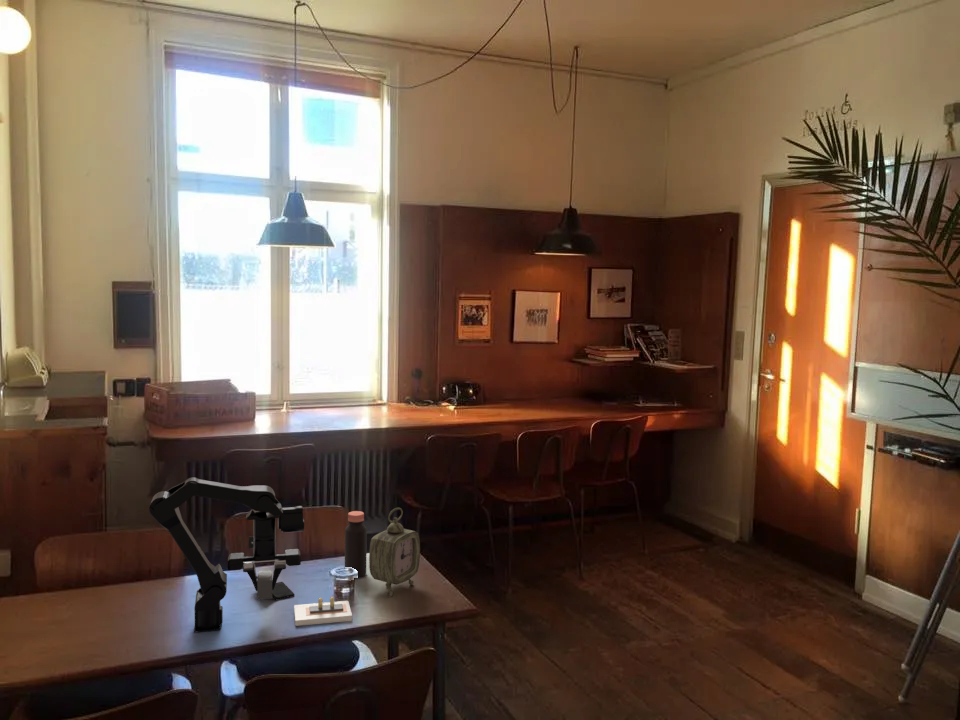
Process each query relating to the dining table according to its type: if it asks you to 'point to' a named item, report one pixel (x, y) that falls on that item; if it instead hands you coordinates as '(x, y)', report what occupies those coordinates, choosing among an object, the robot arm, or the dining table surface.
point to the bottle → (356, 543)
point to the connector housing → (264, 585)
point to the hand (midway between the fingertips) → (264, 590)
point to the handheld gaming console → (281, 591)
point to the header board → (322, 612)
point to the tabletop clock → (394, 554)
